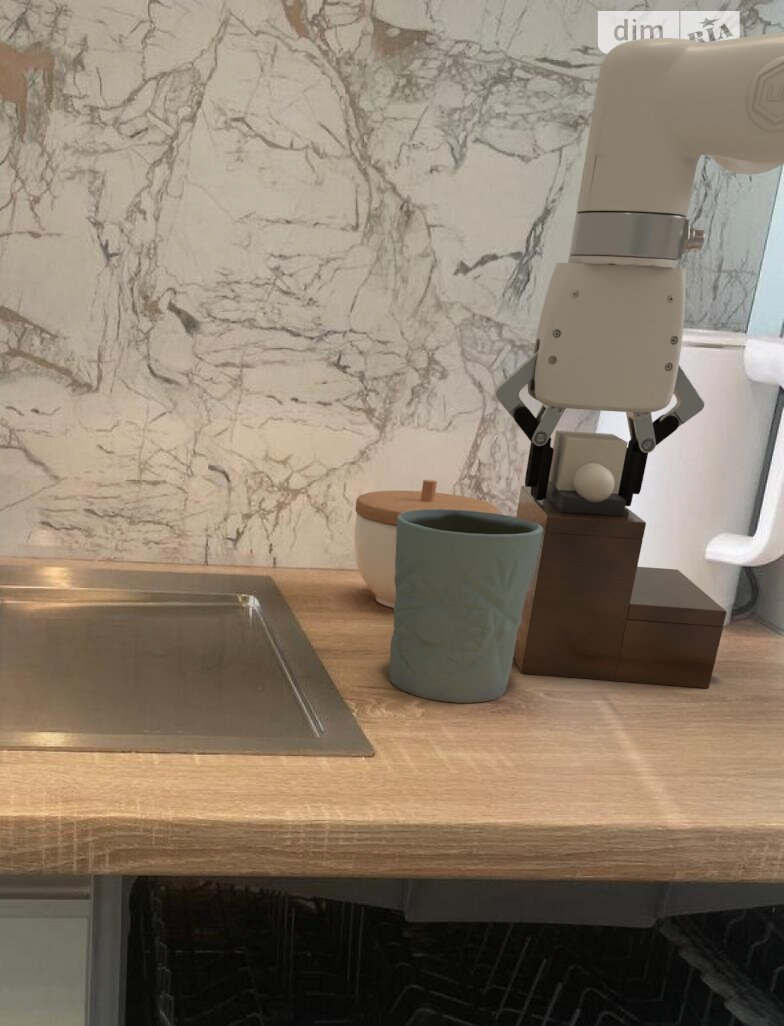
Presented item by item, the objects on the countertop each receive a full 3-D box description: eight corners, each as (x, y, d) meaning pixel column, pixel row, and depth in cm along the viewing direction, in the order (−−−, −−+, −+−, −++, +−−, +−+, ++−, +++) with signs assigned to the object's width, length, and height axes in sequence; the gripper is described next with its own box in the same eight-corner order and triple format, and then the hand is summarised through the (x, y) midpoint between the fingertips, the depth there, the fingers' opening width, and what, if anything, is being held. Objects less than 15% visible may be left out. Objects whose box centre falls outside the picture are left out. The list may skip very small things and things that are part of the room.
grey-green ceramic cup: (406, 707, 83) (429, 534, 78) (359, 663, 92) (376, 505, 87) (540, 704, 85) (570, 535, 80) (481, 661, 94) (505, 507, 89)
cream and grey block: (543, 494, 95) (554, 430, 93) (601, 498, 95) (613, 433, 93) (562, 514, 87) (574, 444, 85) (625, 518, 87) (639, 448, 85)
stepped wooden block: (663, 638, 103) (693, 497, 98) (709, 688, 90) (746, 529, 85) (498, 625, 104) (521, 485, 99) (520, 673, 91) (547, 515, 87)
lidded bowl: (508, 619, 106) (528, 493, 102) (376, 621, 103) (391, 492, 99) (448, 585, 117) (464, 470, 113) (327, 586, 114) (338, 468, 110)
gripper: (733, 251, 88) (680, 500, 95) (497, 240, 89) (462, 485, 97) (767, 249, 81) (707, 517, 88) (510, 236, 83) (472, 500, 90)
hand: (579, 498), depth 92 cm, fingers open, 5 cm apart
